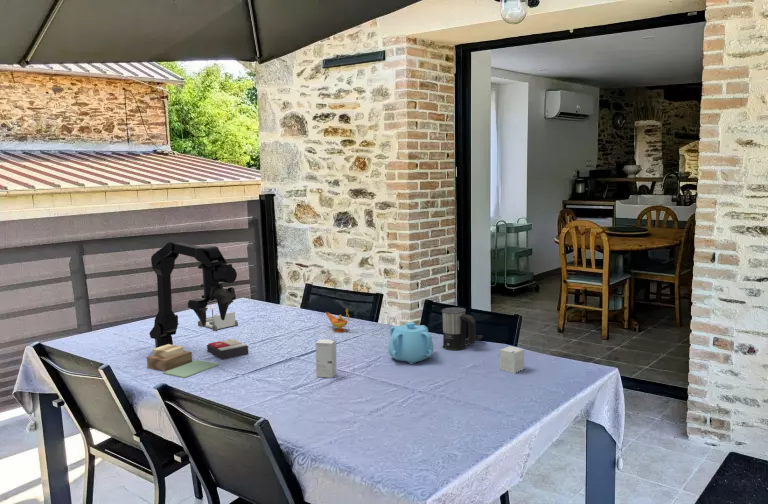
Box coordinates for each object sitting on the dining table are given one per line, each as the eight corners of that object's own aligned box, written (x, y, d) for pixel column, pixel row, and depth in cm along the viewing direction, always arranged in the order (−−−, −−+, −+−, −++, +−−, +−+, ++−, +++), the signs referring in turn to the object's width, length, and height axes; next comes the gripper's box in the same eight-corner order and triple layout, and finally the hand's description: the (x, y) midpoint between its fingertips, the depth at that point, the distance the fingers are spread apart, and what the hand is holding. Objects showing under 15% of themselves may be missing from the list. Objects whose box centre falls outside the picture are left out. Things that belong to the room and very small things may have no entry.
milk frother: (439, 349, 241) (438, 311, 239) (450, 338, 256) (450, 303, 254) (475, 352, 236) (475, 314, 234) (485, 341, 250) (485, 305, 248)
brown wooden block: (147, 367, 228) (146, 357, 227) (173, 358, 238) (173, 348, 238) (166, 371, 223) (165, 360, 222) (192, 362, 233) (191, 351, 233)
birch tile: (153, 355, 229) (152, 349, 229) (168, 350, 235) (168, 344, 235) (168, 358, 225) (167, 351, 225) (183, 353, 231) (183, 346, 231)
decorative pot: (433, 352, 238) (433, 317, 236) (433, 365, 222) (432, 328, 220) (390, 352, 239) (390, 317, 237) (387, 365, 223) (386, 328, 221)
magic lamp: (332, 325, 283) (331, 301, 281) (356, 332, 269) (355, 307, 267) (319, 328, 278) (318, 303, 277) (343, 335, 264) (342, 310, 263)
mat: (162, 373, 221) (162, 372, 221) (197, 360, 235) (197, 359, 235) (184, 378, 215) (184, 377, 215) (218, 364, 229) (218, 363, 229)
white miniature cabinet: (315, 377, 213) (314, 342, 211) (321, 372, 217) (319, 338, 216) (332, 378, 211) (331, 343, 210) (337, 374, 215) (336, 339, 214)
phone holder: (193, 305, 288) (215, 300, 297) (194, 325, 290) (217, 321, 298) (214, 310, 276) (237, 305, 284) (215, 332, 277) (238, 327, 285)
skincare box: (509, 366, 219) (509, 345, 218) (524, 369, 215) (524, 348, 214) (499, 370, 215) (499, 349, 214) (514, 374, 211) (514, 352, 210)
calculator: (232, 337, 253) (248, 343, 241) (233, 348, 254) (249, 354, 242) (206, 342, 247) (220, 349, 235) (207, 353, 247) (221, 360, 235)
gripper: (207, 287, 218) (210, 331, 220) (245, 278, 233) (247, 319, 236) (185, 284, 223) (188, 327, 225) (223, 276, 239) (226, 316, 241)
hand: (213, 322), depth 232 cm, fingers open, 9 cm apart
